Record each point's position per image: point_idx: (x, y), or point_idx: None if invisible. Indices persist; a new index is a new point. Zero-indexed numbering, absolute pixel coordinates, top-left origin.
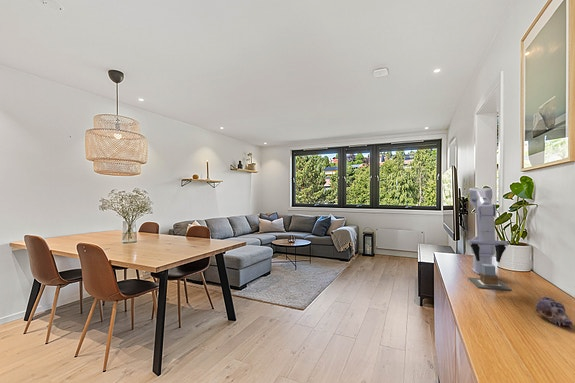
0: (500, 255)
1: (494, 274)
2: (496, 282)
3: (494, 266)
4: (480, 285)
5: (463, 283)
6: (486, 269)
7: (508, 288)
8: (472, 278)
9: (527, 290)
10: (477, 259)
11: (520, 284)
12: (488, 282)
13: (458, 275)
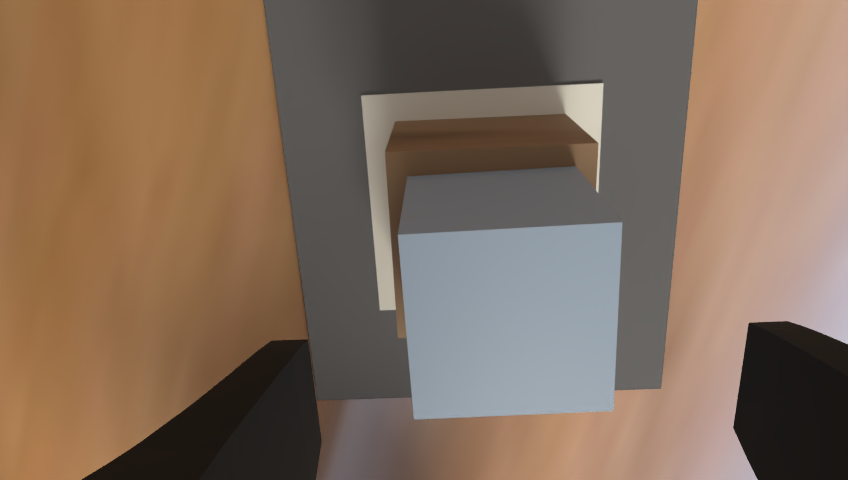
0: (182, 433)
1: (424, 181)
2: (409, 128)
3: (415, 232)
4: (640, 32)
5: (814, 131)
6: (567, 200)
7: (293, 10)
8: (626, 352)
9: (72, 75)
10: (824, 343)
11: (108, 317)
12: (514, 121)
13: (728, 476)
